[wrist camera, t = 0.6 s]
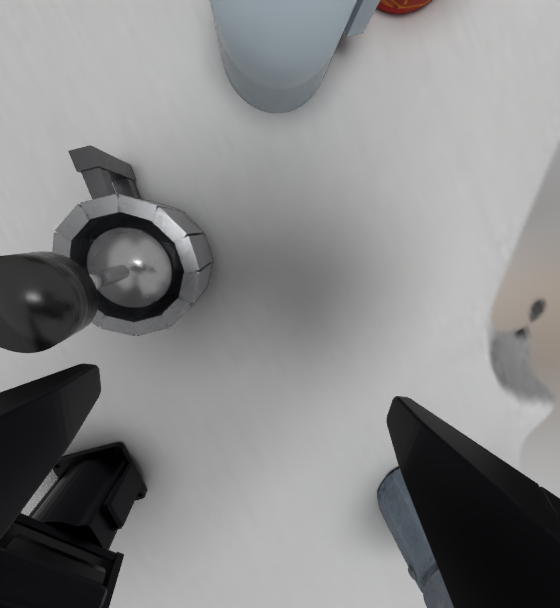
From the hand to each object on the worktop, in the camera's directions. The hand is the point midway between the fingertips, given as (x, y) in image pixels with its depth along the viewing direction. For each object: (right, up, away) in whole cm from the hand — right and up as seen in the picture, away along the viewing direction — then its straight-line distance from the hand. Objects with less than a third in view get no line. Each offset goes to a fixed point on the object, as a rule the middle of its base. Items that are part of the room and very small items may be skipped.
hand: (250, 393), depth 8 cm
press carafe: (-9, +7, +12) cm, 17 cm away
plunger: (-8, +5, +8) cm, 13 cm away
